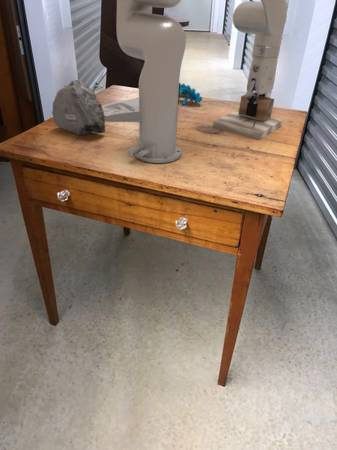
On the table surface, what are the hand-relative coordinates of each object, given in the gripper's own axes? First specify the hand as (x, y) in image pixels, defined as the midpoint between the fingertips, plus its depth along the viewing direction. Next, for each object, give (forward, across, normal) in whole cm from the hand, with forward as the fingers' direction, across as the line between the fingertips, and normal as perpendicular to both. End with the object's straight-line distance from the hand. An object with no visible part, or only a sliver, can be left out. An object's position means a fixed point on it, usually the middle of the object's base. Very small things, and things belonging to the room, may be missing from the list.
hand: (254, 113), depth 116 cm
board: (+3, -4, 0) cm, 5 cm away
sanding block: (+1, 0, 0) cm, 1 cm away
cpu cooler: (+4, -8, +30) cm, 31 cm away
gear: (+4, +4, +28) cm, 29 cm away
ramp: (+4, -21, +33) cm, 39 cm away
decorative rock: (+4, -44, +34) cm, 56 cm away
